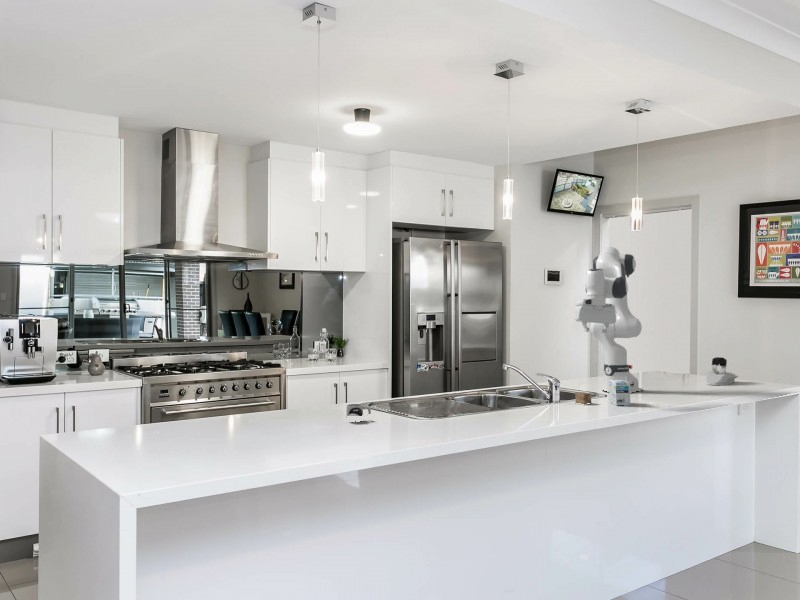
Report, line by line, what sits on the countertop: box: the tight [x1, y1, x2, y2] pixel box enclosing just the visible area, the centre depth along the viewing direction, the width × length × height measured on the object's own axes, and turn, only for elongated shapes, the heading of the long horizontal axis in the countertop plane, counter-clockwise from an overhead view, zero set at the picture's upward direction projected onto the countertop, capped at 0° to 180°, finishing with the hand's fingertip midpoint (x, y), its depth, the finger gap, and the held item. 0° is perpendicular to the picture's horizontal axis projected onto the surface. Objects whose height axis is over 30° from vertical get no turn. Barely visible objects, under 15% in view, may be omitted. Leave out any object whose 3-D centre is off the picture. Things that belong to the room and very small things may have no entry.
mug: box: [345, 403, 372, 417], centre depth 281 cm, size 10×7×7 cm, turn 105°
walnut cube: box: [575, 391, 592, 405], centre depth 321 cm, size 5×5×5 cm
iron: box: [706, 356, 739, 386], centre depth 392 cm, size 11×24×15 cm, turn 136°
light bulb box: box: [609, 380, 631, 407], centre depth 319 cm, size 11×7×11 cm, turn 179°
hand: (595, 332), depth 319 cm, fingers open, 8 cm apart
